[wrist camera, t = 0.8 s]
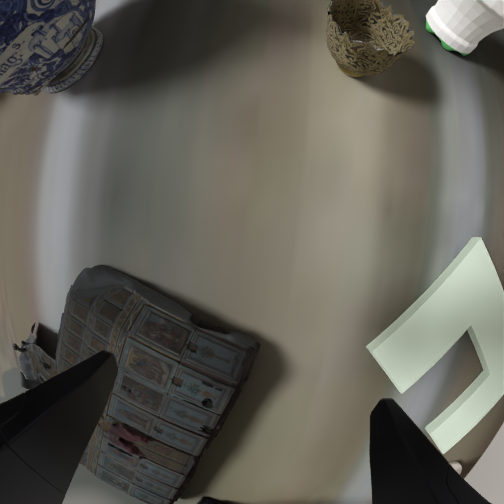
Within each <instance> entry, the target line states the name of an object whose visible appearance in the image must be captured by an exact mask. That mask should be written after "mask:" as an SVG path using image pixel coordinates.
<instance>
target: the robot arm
mask: <svg viewBox="0 0 504 504" xmlns="http://www.w3.org/2000/svg"><path fill="white" fill-rule="evenodd" d="M117 375H118V367H117V363H116V359H115V355H114V354H113V353H111V352H109V351H106V350H102V351H100V352H98V353H96V354H94V355H92V356H90V357H89V358H87V359H85V360H83V361H81V362H79V363H78V364H76V365H74V366H72V367H70V368H68V369H67V370H65V371H63V372H61V373H59V374H57V375H55V376H54V377H52V378H50V379H48V380H46V381H44V382H42V383H41V384H39V385H37V386H35V387H33V388H31V389H29V390H28V391H26V392H25V393H22V394H20V395H18V396H16V397H14V398H12V399H10V400H8V401H6V402H3V403H1V404H0V504H62V502H63V500H64V497H65V494H66V492H67V490H68V487H69V485H70V483H71V480H72V478H73V476H74V474H75V471H76V469H77V467H78V464H79V462H80V460H81V458H82V456H83V454H84V451H85V449H86V447H87V445H88V443H89V441H90V439H91V437H92V435H93V432H94V430H95V428H96V426H97V424H98V422H99V420H100V418H101V416H102V414H103V412H104V410H105V407H106V405H107V402H108V399H109V396H110V394H111V391H112V388H113V385H114V383H115V380H116V378H117ZM370 468H371V484H372V504H491V503H490V502H488V501H487V500H486V499H484V497H482V496H481V495H480V494H479V493H478V492H477V491H476V490H475V489H473V488H472V487H471V486H470V485H469V484H468V483H467V482H466V481H465V480H464V479H463V478H462V477H461V476H460V475H459V474H458V472H457V471H456V470H455V469H454V468H453V467H452V466H451V465H450V464H449V462H448V461H447V460H446V459H445V458H444V457H443V455H442V454H441V453H440V452H439V451H438V450H437V448H436V447H435V446H434V445H433V444H432V443H431V442H430V440H429V439H428V438H427V437H426V436H425V435H424V434H423V432H422V431H421V430H420V429H419V428H418V427H417V426H416V424H415V423H414V422H413V421H412V420H411V419H410V418H409V416H408V415H407V414H406V413H405V412H404V411H403V410H402V408H401V407H400V406H399V405H398V404H397V403H396V402H395V401H394V400H393V399H392V398H383V399H381V400H380V401H379V402H378V404H377V405H376V406H375V408H374V409H373V411H372V412H371V415H370ZM197 504H225V503H222V502H219V501H216V500H213V499H210V498H207V497H202V498H201V500H200V501H199V502H198V503H197Z"/></svg>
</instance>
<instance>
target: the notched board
mask: <svg viewBox="0 0 504 504" xmlns="http://www.w3.org/2000/svg"><path fill="white" fill-rule="evenodd" d="M466 330H467V331H468V333H469V335H470V338H471V340H472V342H473V345H474V347H475V350H476V352H477V355H478V357H479V360H480V362H481V365H482V368H483V371H482V372H481V373H480V375H479V376H478V377H477V378H476V379H475V380H474V381H473V382H472V383H471V384H470V385H469V387H468V388H467V389H466V390H465V391H464V392H463V393H462V394H461V395H460V396H459V397H458V398H457V399H456V400H455V401H454V402H453V403H452V404H451V405H450V406H448V407H447V408H446V409H445V410H444V411H443V412H442V413H441V414H440V415H439V416H438V417H436V418H435V419H434V420H433V421H432V422H431V423H429V424H428V425H427V426H426V427H425V429H426V430H427V432H428V433H429V435H430V436H431V438H432V439H433V441H434V442H435V444H436V445H437V447H438V448H439V449H440V451H441V452H442V453H443V454H444V453H445V452H447V451H448V450H449V449H450V448H451V447H452V446H454V445H455V444H456V443H457V442H458V441H459V440H460V439H461V438H462V437H464V436H465V435H466V434H467V433H468V432H469V431H470V430H471V429H472V428H473V427H474V426H475V425H476V424H477V423H478V422H479V421H480V420H481V419H482V418H483V417H484V416H485V415H486V414H487V413H488V411H489V410H490V409H491V408H492V407H493V406H494V405H495V404H496V403H497V401H498V400H499V399H500V398H501V397H502V396H503V394H504V291H503V288H502V285H501V282H500V280H499V277H498V275H497V272H496V270H495V267H494V265H493V263H492V260H491V258H490V256H489V253H488V251H487V249H486V247H485V245H484V243H483V241H482V239H481V237H472V238H471V240H470V241H469V242H468V243H467V245H466V246H465V247H464V248H463V249H462V251H461V252H460V253H459V254H458V255H457V257H456V258H455V259H454V260H453V261H452V263H451V264H450V265H449V266H448V267H447V268H446V269H445V270H444V272H443V273H442V274H441V275H440V276H439V277H438V278H437V279H436V280H435V281H434V283H433V284H432V285H431V286H430V287H429V288H428V289H427V290H426V291H425V292H424V293H423V294H422V295H421V296H420V297H419V298H418V299H417V300H416V301H415V302H414V303H413V304H412V305H411V306H410V307H409V308H408V309H407V310H406V311H405V312H404V313H403V314H402V315H401V316H400V317H399V318H397V319H396V320H395V321H394V322H393V323H392V324H391V325H390V326H389V327H388V328H387V329H385V330H384V331H383V332H382V333H381V334H380V335H379V336H377V337H376V338H375V339H374V340H373V341H372V342H370V343H369V344H368V345H367V346H366V347H367V349H368V350H369V351H370V353H371V354H372V355H373V357H374V358H375V359H376V361H377V362H378V363H379V365H380V366H381V368H382V369H383V370H384V372H385V373H386V374H387V376H388V377H389V378H390V380H391V381H392V383H393V384H394V385H395V387H396V388H397V389H398V390H399V391H400V393H401V394H402V393H403V392H404V391H406V390H407V389H408V388H409V387H410V386H411V385H413V384H414V383H415V382H416V381H417V380H418V379H419V378H420V377H421V376H423V375H424V374H425V373H426V372H427V371H428V370H429V369H430V368H431V367H432V366H433V365H434V364H435V363H436V362H437V361H438V360H439V359H440V358H441V357H442V356H443V355H444V354H445V353H446V352H447V351H448V350H449V349H450V348H451V347H452V346H453V345H454V344H455V343H456V341H457V340H458V339H459V338H460V337H461V336H462V335H463V334H464V333H465V331H466Z"/></svg>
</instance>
